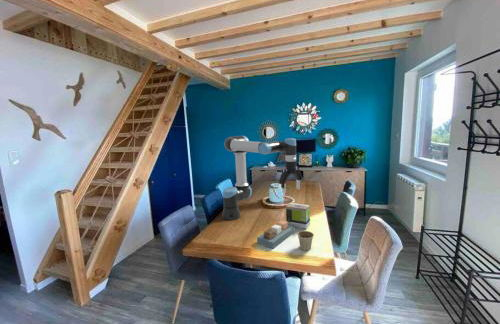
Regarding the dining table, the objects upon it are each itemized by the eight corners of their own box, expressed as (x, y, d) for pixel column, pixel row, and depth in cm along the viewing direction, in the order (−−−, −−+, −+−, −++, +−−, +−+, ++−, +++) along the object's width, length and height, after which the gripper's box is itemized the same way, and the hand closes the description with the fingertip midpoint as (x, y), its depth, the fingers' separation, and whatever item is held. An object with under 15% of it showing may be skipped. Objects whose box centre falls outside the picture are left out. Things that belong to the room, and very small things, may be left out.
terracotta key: (277, 228, 159) (277, 222, 159) (281, 225, 163) (281, 220, 162) (284, 230, 156) (283, 224, 156) (287, 227, 160) (287, 221, 159)
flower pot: (312, 253, 134) (312, 239, 133) (296, 250, 138) (295, 236, 136) (314, 245, 143) (314, 232, 141) (298, 243, 146) (298, 229, 145)
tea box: (310, 224, 173) (310, 204, 171) (306, 229, 165) (306, 209, 162) (290, 220, 181) (290, 202, 178) (285, 225, 172) (285, 206, 170)
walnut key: (264, 237, 147) (263, 231, 146) (268, 234, 151) (268, 228, 150) (270, 239, 144) (270, 233, 143) (274, 236, 148) (274, 230, 147)
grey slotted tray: (257, 243, 148) (256, 237, 147) (279, 228, 168) (279, 223, 167) (273, 249, 140) (272, 242, 140) (294, 232, 160) (294, 227, 160)
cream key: (271, 232, 153) (271, 226, 153) (275, 230, 157) (275, 224, 156) (277, 234, 150) (277, 228, 150) (281, 231, 154) (281, 226, 153)
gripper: (280, 163, 153) (281, 195, 156) (307, 159, 167) (307, 188, 170) (273, 162, 159) (274, 193, 162) (299, 158, 173) (299, 186, 176)
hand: (291, 190), depth 166 cm, fingers open, 13 cm apart
